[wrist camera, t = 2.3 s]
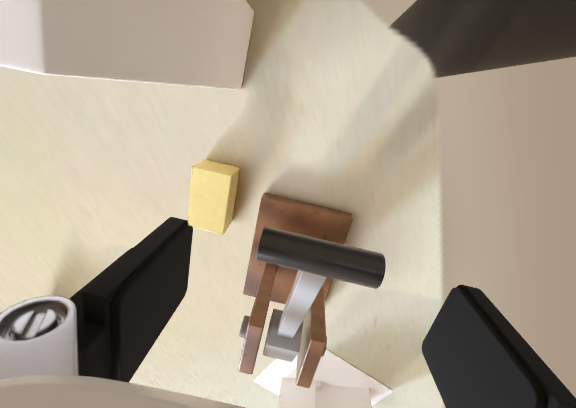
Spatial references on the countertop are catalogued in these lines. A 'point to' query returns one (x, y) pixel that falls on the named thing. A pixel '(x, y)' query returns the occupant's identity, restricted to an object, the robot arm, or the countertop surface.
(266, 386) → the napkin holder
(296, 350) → the lever
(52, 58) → the milk
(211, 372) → the countertop surface
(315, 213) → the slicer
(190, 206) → the butter
